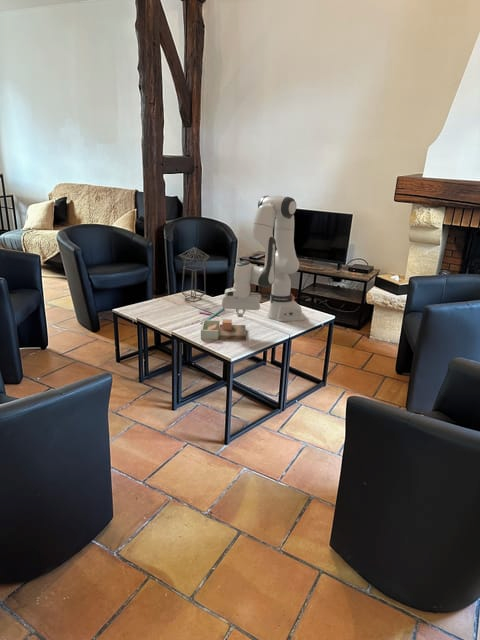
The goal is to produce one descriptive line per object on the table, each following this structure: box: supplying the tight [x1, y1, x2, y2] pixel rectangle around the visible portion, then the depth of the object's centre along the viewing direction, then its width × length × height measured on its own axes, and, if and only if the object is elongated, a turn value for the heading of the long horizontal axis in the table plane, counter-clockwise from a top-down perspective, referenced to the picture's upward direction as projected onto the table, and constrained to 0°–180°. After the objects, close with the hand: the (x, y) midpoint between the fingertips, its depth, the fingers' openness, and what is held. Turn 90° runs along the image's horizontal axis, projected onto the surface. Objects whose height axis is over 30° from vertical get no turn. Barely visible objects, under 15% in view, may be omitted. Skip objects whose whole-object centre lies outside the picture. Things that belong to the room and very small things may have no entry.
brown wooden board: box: [218, 324, 247, 341], centre depth 236 cm, size 14×16×2 cm
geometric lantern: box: [178, 246, 211, 303], centre depth 288 cm, size 16×16×35 cm
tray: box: [200, 319, 221, 341], centre depth 236 cm, size 9×16×5 cm, turn 0°
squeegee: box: [199, 308, 225, 325], centre depth 264 cm, size 29×2×10 cm
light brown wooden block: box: [221, 318, 233, 330], centre depth 238 cm, size 5×5×4 cm
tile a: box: [207, 324, 220, 334], centre depth 232 cm, size 5×5×4 cm
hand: (240, 316), depth 236 cm, fingers closed
